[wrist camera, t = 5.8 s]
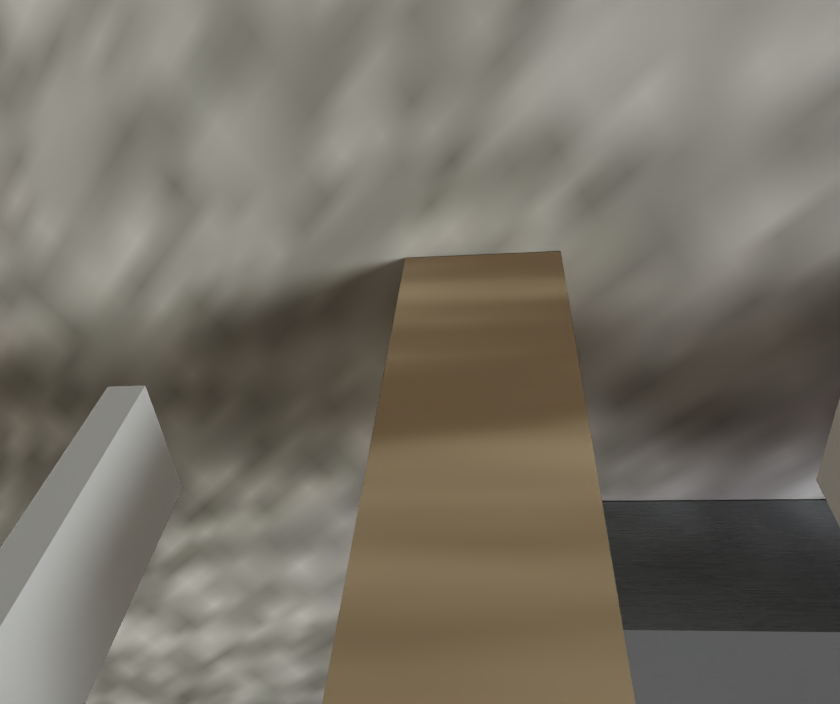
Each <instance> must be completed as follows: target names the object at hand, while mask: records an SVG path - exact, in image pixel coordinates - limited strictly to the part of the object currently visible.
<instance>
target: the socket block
mask: <svg viewBox="0 0 840 704" xmlns="http://www.w3.org/2000/svg"><path fill="white" fill-rule="evenodd" d="M602 504H603V510H604V516H605V522H606V528H607V534H608V540H609V547H610V553H611V559H612V565H613V571H614V577H615V583H616V589H617V595H618V601H619V607H620V613H621V619H622V625H623V631H624V637H625V643H626V649H627V655H628V661H629V667H630V673H631V679H632V685H633V691H634V697H635V704H840V527H839V525H838V523H837V521H836V519H835V517H834V515H833V513H832V511H831V509H830V507H829V505H828V503H827V501H826V500H771V501H645V502H602Z"/></svg>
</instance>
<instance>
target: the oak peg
mask: <svg viewBox="0 0 840 704" xmlns="http://www.w3.org/2000/svg"><path fill="white" fill-rule="evenodd" d="M322 704H635V697H634V691H633V685H632V679H631V673H630V667H629V661H628V655H627V649H626V643H625V637H624V631H623V625H622V619H621V613H620V607H619V601H618V595H617V589H616V583H615V577H614V571H613V565H612V559H611V553H610V547H609V540H608V534H607V528H606V522H605V516H604V510H603V504H602V498H601V492H600V486H599V480H598V474H597V468H596V462H595V456H594V450H593V444H592V438H591V432H590V426H589V420H588V414H587V408H586V402H585V396H584V390H583V384H582V377H581V371H580V365H579V359H578V353H577V347H576V341H575V335H574V329H573V323H572V317H571V311H570V305H569V299H568V293H567V287H566V281H565V275H564V269H563V263H562V257H561V251H554V252H532V253H510V254H487V255H465V256H442V257H420V258H405V262H404V267H403V273H402V278H401V284H400V289H399V294H398V300H397V305H396V310H395V316H394V321H393V327H392V332H391V337H390V343H389V348H388V353H387V359H386V364H385V370H384V375H383V380H382V386H381V391H380V396H379V402H378V407H377V413H376V418H375V423H374V429H373V434H372V439H371V445H370V450H369V456H368V461H367V466H366V472H365V477H364V482H363V488H362V493H361V499H360V504H359V509H358V515H357V520H356V525H355V531H354V536H353V542H352V547H351V552H350V558H349V563H348V568H347V574H346V579H345V585H344V590H343V595H342V601H341V606H340V611H339V617H338V622H337V628H336V633H335V638H334V644H333V649H332V654H331V660H330V665H329V671H328V676H327V681H326V687H325V692H324V697H323V703H322Z"/></svg>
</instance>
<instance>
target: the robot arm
mask: <svg viewBox="0 0 840 704" xmlns="http://www.w3.org/2000/svg"><path fill="white" fill-rule="evenodd" d="M816 480H817V482H818V484H819V486H820V488H821V490H822V492H823V494H824V497H825V499H826V501H827V503H828V505H829V507H830V509H831V511H832V513H833V515H834V517H835V519H836V521H837V523H838V525H839V527H840V399H839V402H838V406H837V409H836V413H835V416H834V420H833V423H832V427H831V430H830V434H829V437H828V441H827V444H826V448H825V451H824V455H823V458H822V462H821V465H820V469H819V472H818V476H817V479H816ZM182 488H183V487H182V484H181V481H180V479H179V476H178V473H177V470H176V468H175V465H174V462H173V460H172V457H171V454H170V452H169V449H168V446H167V443H166V441H165V438H164V435H163V433H162V430H161V427H160V424H159V422H158V419H157V416H156V414H155V411H154V408H153V405H152V403H151V400H150V397H149V395H148V392H147V389H146V386H113V387H107V389H106V390H105V392H104V393H103V395H102V396H101V398H100V399H99V401H98V402H97V404H96V405H95V407H94V408H93V410H92V411H91V413H90V414H89V416H88V417H87V419H86V420H85V422H84V423H83V425H82V426H81V428H80V429H79V431H78V432H77V434H76V435H75V437H74V438H73V440H72V441H71V443H70V444H69V446H68V447H67V449H66V450H65V452H64V453H63V455H62V456H61V458H60V459H59V461H58V462H57V464H56V465H55V467H54V468H53V470H52V471H51V473H50V474H49V476H48V477H47V479H46V480H45V482H44V483H43V485H42V486H41V488H40V489H39V491H38V492H37V494H36V495H35V497H34V498H33V500H32V501H31V503H30V504H29V506H28V507H27V509H26V510H25V512H24V513H23V515H22V516H21V518H20V519H19V521H18V522H17V524H16V525H15V527H14V528H13V530H12V531H11V533H10V534H9V536H8V537H7V539H6V540H5V542H4V543H3V545H2V546H1V548H0V704H85V702H86V700H87V698H88V695H89V693H90V691H91V689H92V687H93V684H94V682H95V680H96V678H97V676H98V673H99V671H100V669H101V667H102V665H103V662H104V660H105V658H106V656H107V654H108V651H109V649H110V647H111V645H112V643H113V640H114V638H115V636H116V634H117V632H118V629H119V627H120V625H121V623H122V621H123V618H124V616H125V614H126V612H127V610H128V607H129V605H130V603H131V601H132V598H133V596H134V594H135V592H136V590H137V587H138V585H139V583H140V581H141V579H142V576H143V574H144V572H145V570H146V568H147V565H148V563H149V561H150V559H151V557H152V554H153V552H154V550H155V548H156V546H157V543H158V541H159V539H160V537H161V535H162V532H163V530H164V528H165V526H166V524H167V521H168V519H169V517H170V515H171V513H172V510H173V508H174V506H175V504H176V502H177V499H178V497H179V495H180V493H181V491H182Z"/></svg>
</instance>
